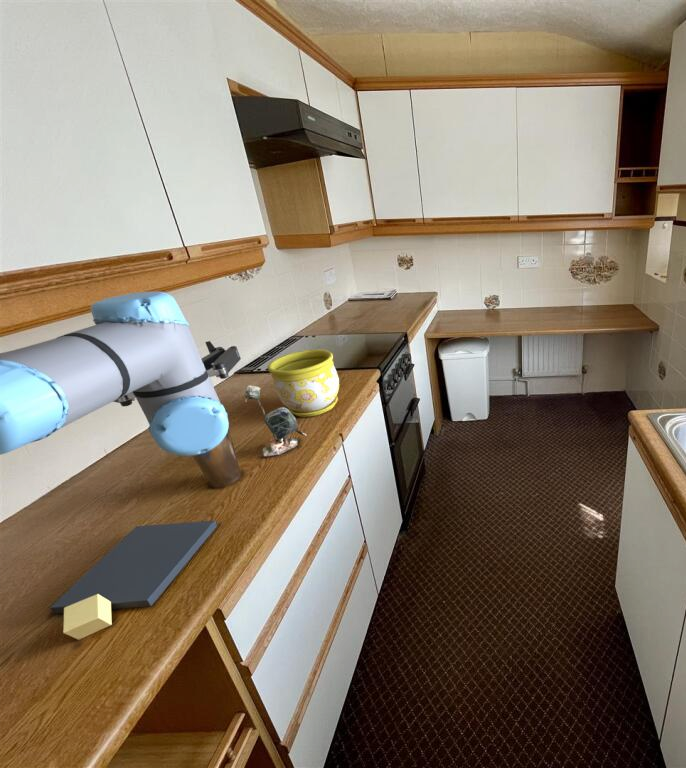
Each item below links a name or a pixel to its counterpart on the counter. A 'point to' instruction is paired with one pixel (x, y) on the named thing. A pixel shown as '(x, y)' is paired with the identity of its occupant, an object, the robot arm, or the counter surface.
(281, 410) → the decorative sculpture
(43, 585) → the counter surface
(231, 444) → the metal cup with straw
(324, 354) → the flowerpot
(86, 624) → the pale yellow cube
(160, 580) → the tray
